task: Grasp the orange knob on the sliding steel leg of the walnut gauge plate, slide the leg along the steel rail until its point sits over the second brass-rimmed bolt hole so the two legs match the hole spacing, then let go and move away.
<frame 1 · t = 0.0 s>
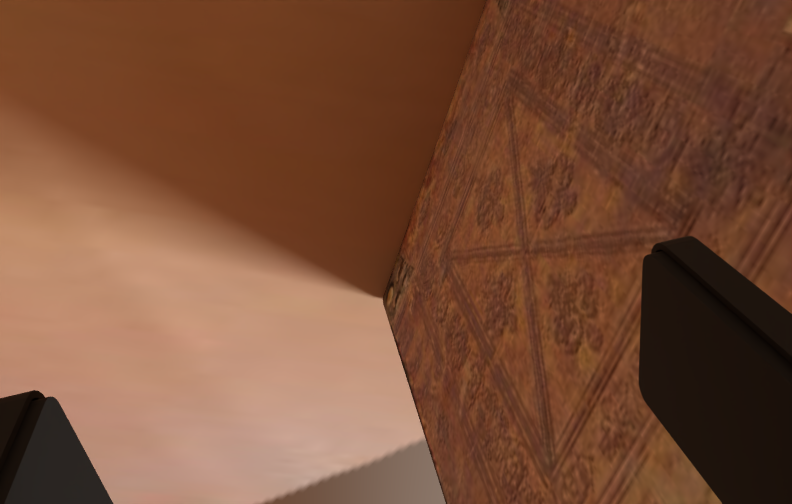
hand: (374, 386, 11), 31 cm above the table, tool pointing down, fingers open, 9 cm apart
book: (504, 148, 44), on the table
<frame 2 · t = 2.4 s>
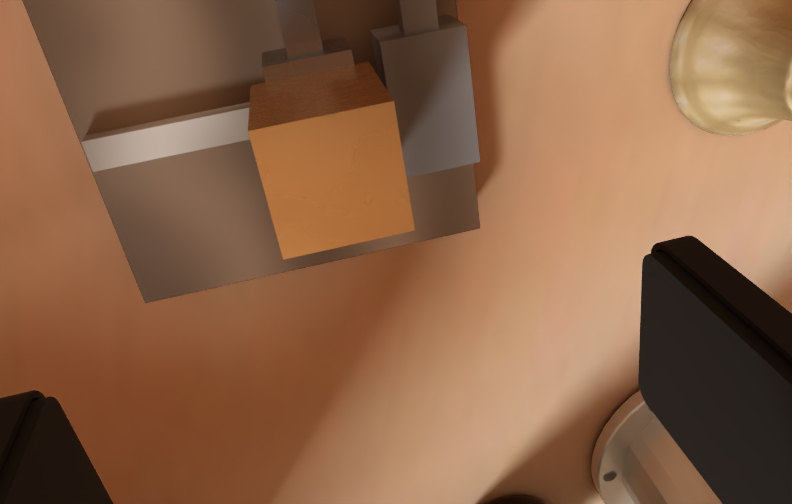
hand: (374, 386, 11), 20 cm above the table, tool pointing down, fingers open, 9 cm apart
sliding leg: (303, 41, 21), point 7 cm above the table, slide at 4.0 cm
gauge plate: (258, 24, 27), on the table
hand bell: (750, 45, 31), on the table
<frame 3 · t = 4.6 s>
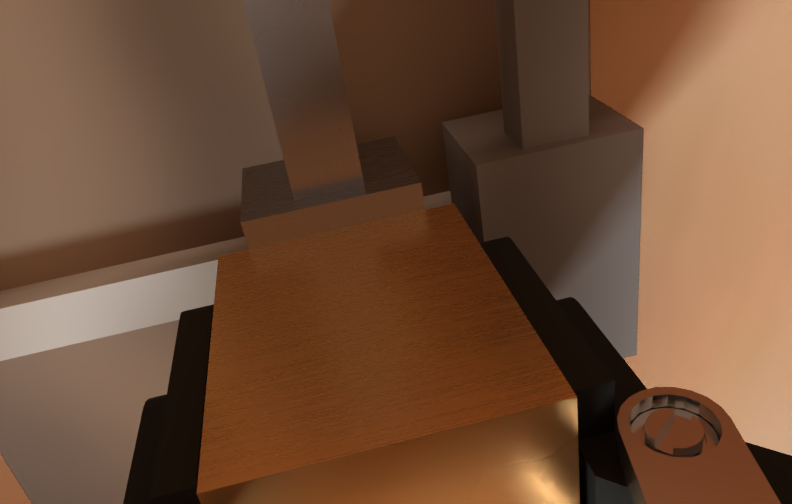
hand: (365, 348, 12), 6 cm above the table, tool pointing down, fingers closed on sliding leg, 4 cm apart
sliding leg: (329, 186, 10), point 6 cm above the table, slide at 4.0 cm, touching gripper
gauge plate: (238, 100, 15), on the table
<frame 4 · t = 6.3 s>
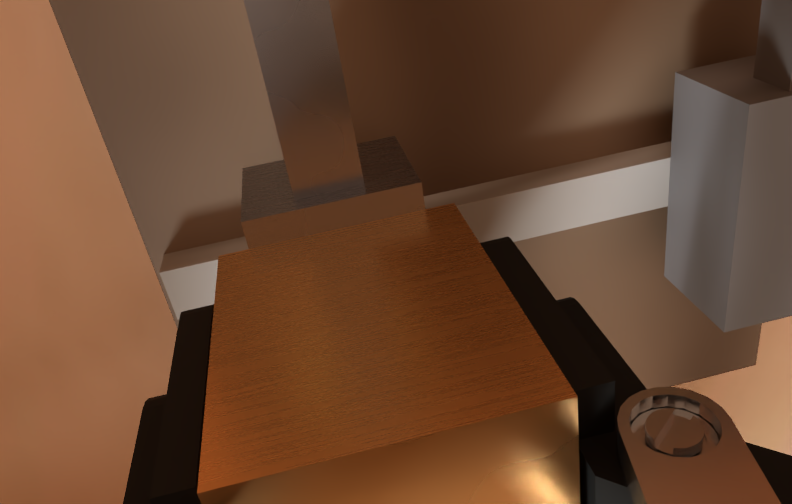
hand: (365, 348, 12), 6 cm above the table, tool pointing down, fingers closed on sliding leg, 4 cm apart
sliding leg: (329, 186, 10), point 6 cm above the table, slide at 9.0 cm, touching gripper
gauge plate: (450, 56, 16), on the table
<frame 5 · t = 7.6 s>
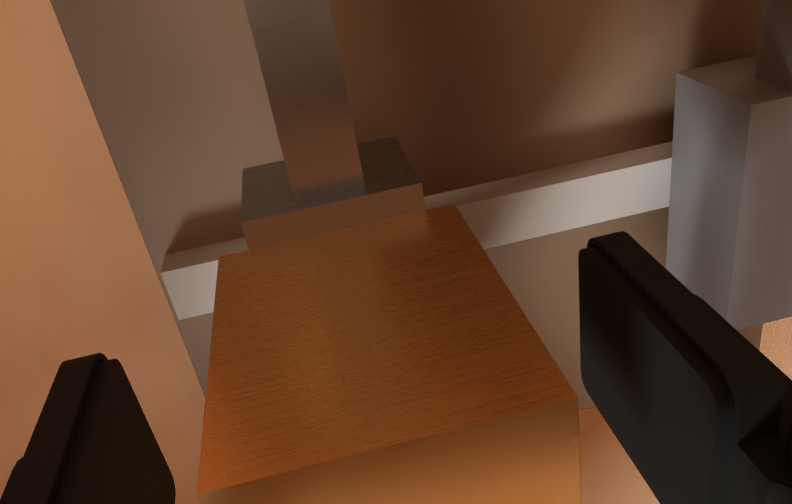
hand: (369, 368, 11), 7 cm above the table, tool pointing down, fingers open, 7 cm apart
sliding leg: (329, 187, 10), point 7 cm above the table, slide at 9.0 cm
gauge plate: (451, 56, 16), on the table
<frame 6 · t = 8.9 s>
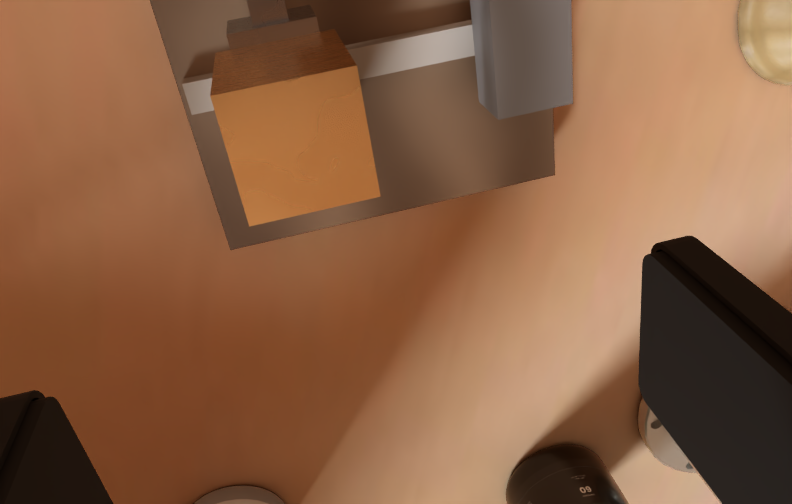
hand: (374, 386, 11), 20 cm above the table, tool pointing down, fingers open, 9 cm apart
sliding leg: (267, 7, 21), point 6 cm above the table, slide at 9.0 cm
supplement bottle: (551, 476, 45), on the table
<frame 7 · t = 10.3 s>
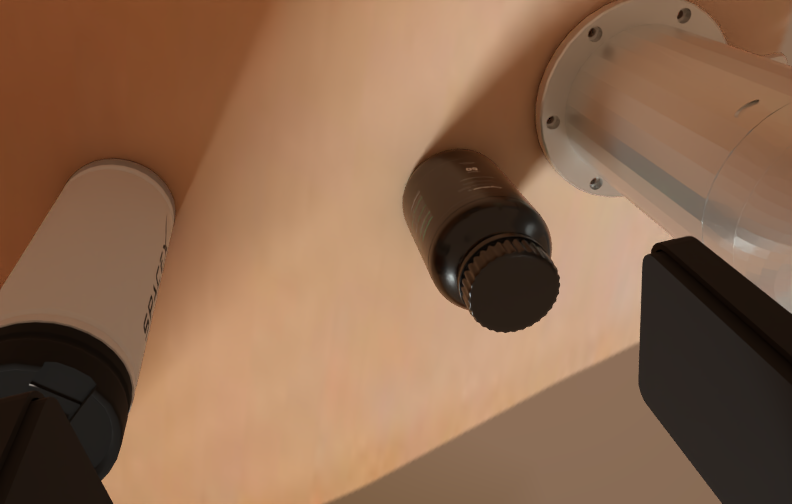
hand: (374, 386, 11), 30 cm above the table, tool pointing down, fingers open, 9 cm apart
travel mug: (119, 208, 40), on the table
supplement bottle: (451, 195, 44), on the table
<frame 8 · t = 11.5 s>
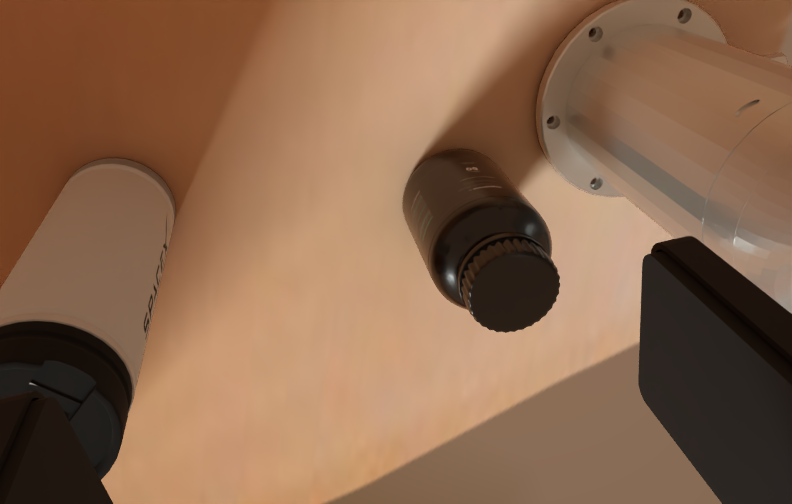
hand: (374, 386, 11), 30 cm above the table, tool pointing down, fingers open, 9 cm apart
travel mug: (119, 207, 40), on the table
supplement bottle: (451, 195, 44), on the table
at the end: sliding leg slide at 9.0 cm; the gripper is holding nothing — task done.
